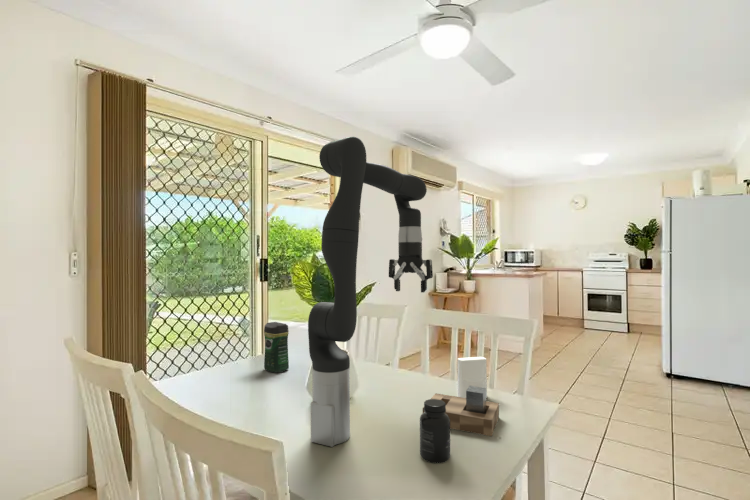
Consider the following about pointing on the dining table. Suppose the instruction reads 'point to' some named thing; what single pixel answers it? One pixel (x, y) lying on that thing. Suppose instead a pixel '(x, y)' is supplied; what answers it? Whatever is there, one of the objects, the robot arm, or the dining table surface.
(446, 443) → the supplement bottle
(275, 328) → the coffee jar
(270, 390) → the dining table surface
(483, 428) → the socket board
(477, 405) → the steel square peg
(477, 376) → the white upright block
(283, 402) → the dining table surface
